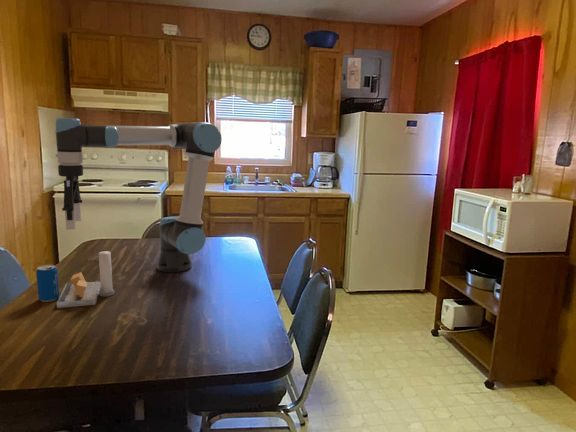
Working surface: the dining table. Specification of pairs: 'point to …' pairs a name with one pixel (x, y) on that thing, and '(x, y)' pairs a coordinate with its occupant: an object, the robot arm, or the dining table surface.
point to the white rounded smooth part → (105, 274)
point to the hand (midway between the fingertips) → (74, 225)
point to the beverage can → (47, 283)
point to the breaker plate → (87, 299)
